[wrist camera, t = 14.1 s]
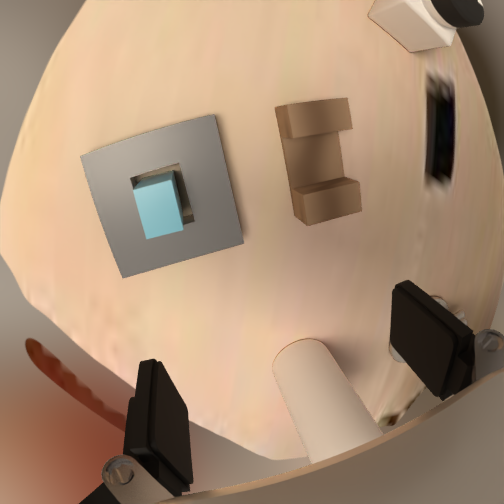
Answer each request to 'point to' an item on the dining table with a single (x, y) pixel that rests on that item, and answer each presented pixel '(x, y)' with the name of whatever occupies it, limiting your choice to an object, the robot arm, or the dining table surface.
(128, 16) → the dining table surface
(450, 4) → the medicine bottle
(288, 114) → the brown notched block
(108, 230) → the port block
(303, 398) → the bottle
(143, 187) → the plug
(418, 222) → the dining table surface
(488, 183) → the dining table surface
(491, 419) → the robot arm
